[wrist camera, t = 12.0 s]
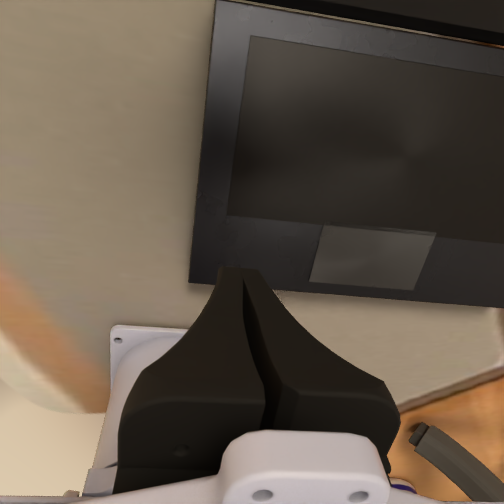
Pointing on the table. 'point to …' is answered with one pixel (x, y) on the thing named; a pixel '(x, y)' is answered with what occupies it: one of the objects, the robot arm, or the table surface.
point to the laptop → (351, 159)
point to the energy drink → (402, 485)
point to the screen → (417, 15)
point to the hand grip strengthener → (457, 464)
